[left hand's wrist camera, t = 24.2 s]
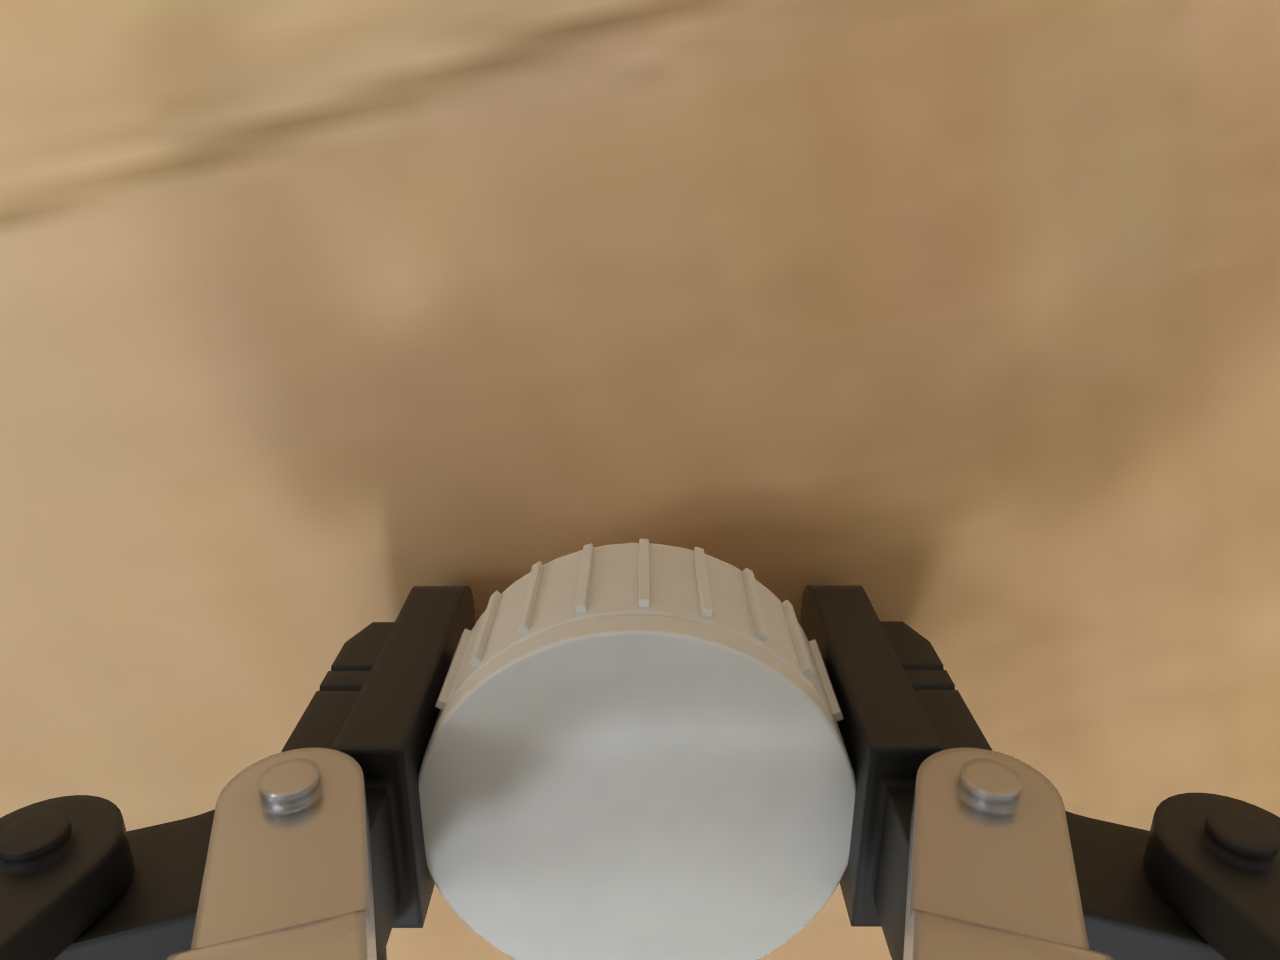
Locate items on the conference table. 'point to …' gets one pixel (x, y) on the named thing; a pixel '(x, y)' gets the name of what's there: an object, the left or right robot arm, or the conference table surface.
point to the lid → (637, 764)
